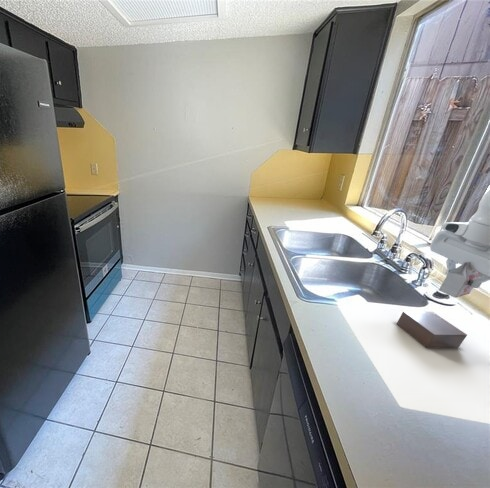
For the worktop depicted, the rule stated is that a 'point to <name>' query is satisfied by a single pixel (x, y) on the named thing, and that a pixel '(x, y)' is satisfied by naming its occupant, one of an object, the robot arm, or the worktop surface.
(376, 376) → the worktop surface
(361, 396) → the worktop surface
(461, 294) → the white milk carton
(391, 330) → the worktop surface
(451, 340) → the walnut block
